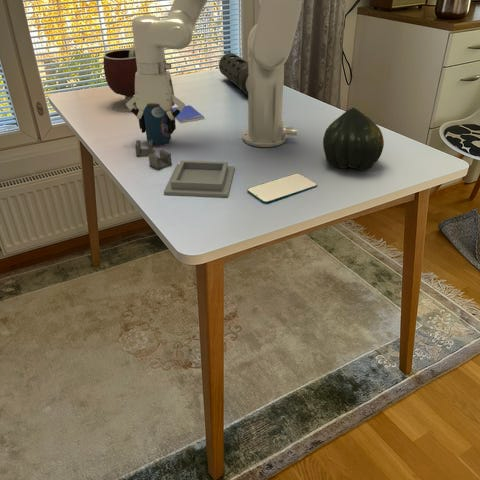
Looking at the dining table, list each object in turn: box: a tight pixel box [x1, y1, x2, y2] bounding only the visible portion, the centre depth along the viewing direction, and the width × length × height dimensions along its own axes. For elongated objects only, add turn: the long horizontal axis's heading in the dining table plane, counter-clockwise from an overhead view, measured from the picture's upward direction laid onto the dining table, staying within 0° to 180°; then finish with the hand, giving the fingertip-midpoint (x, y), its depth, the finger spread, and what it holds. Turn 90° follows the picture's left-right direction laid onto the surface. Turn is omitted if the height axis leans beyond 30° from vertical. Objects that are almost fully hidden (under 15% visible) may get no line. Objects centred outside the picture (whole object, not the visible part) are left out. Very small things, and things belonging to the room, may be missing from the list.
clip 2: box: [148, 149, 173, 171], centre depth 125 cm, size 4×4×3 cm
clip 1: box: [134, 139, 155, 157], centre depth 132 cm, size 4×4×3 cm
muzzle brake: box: [218, 52, 249, 96], centre depth 178 cm, size 10×28×10 cm, turn 21°
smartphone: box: [246, 173, 318, 205], centre depth 115 cm, size 8×1×16 cm
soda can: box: [144, 104, 172, 147], centre depth 135 cm, size 7×7×12 cm
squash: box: [322, 106, 385, 171], centre depth 123 cm, size 14×15×15 cm
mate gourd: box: [102, 44, 139, 113], centre depth 160 cm, size 16×14×20 cm
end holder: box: [163, 160, 236, 198], centre depth 118 cm, size 15×15×3 cm
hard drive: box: [172, 104, 205, 124], centre depth 157 cm, size 2×8×12 cm
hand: (158, 131), depth 137 cm, fingers open, 7 cm apart
